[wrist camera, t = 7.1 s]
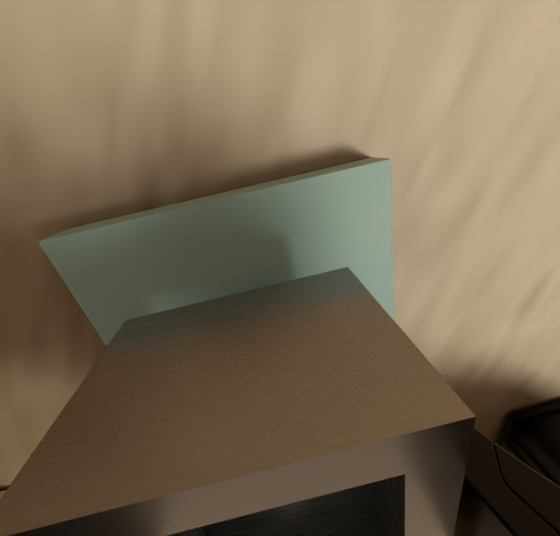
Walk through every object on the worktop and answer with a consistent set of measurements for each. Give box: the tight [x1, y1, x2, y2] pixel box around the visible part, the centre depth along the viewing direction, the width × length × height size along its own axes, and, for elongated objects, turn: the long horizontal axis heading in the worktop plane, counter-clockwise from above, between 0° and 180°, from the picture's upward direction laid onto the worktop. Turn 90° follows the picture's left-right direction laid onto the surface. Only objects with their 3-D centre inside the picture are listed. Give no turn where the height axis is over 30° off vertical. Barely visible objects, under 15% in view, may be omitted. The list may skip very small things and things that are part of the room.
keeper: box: [38, 157, 394, 347], centre depth 10 cm, size 12×12×6 cm
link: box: [0, 267, 476, 536], centre depth 7 cm, size 7×7×5 cm
